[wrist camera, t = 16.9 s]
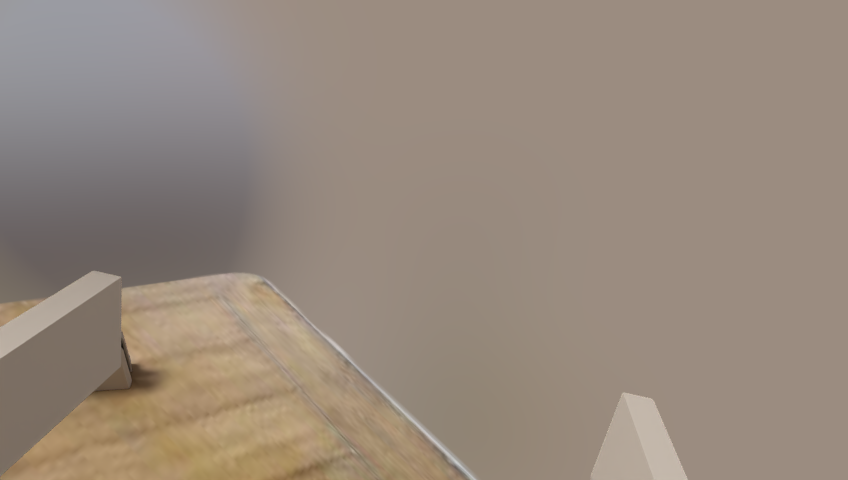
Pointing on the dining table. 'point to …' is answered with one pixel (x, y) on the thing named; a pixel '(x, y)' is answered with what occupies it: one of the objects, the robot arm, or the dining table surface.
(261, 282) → the dining table surface
